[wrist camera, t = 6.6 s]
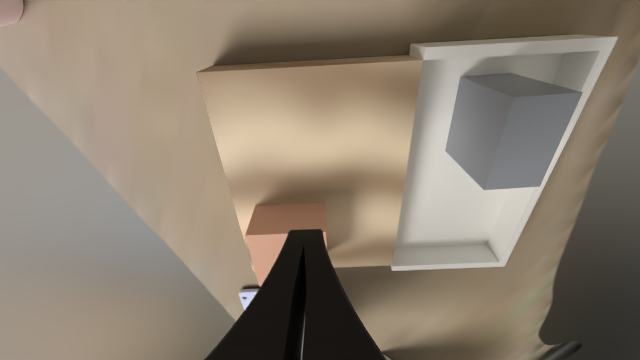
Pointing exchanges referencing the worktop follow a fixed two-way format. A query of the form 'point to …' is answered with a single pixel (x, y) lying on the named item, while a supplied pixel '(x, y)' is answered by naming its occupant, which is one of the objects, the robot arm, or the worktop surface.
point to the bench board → (319, 143)
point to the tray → (449, 177)
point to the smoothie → (10, 11)
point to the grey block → (508, 128)
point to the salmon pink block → (279, 231)
